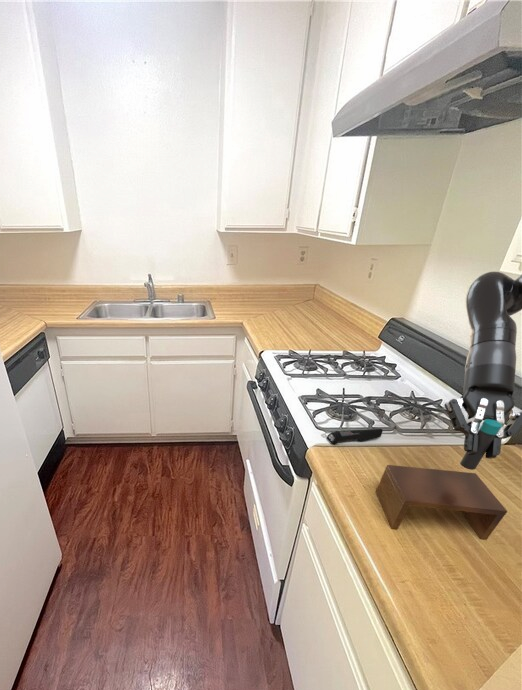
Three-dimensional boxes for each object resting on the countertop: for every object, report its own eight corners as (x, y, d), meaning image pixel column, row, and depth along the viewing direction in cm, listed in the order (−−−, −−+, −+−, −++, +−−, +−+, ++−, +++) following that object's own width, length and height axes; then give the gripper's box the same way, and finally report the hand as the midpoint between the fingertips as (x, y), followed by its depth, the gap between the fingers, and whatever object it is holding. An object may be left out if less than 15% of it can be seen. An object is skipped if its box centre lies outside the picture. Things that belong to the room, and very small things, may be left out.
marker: (471, 462, 69) (496, 419, 64) (478, 470, 67) (505, 427, 61) (457, 460, 69) (481, 418, 64) (463, 469, 67) (489, 426, 62)
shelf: (459, 500, 77) (475, 473, 73) (486, 539, 68) (507, 511, 64) (375, 491, 79) (386, 464, 75) (391, 529, 70) (405, 500, 66)
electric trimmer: (383, 441, 96) (386, 432, 95) (332, 445, 94) (335, 436, 92) (374, 434, 100) (378, 425, 98) (325, 438, 97) (328, 428, 95)
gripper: (459, 357, 65) (449, 445, 62) (546, 367, 62) (540, 461, 59) (440, 372, 73) (430, 452, 70) (517, 382, 69) (511, 466, 66)
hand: (481, 455), depth 64 cm, fingers closed on marker, 2 cm apart
